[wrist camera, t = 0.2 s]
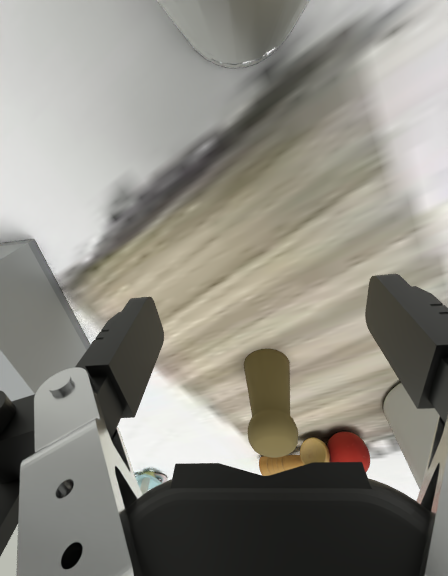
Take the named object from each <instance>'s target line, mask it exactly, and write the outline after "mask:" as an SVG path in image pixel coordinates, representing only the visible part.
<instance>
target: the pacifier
mask: <svg viewBox="0 0 448 576" xmlns="http://www.w3.org/2000/svg"><path fill="white" fill-rule="evenodd" d="M135 478H136V480H137V481H138V482H137V483H138V485H139V488H140V490H141V492H142V494H144V493H146V492H147V491H148V490H149V489H152V488H154V487H156V486H157V485H160V484H162V483H164V482H166V481H167V477H166V476H165V475H162V474H156V473H155V472H151V471H149V472H144V473H142V475H138V476H136V477H135ZM157 478H160V479H162V480H161V481H159V480H158V479H157Z"/></svg>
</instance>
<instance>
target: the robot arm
mask: <svg viewBox="0 0 448 576" xmlns="http://www.w3.org/2000/svg"><path fill="white" fill-rule="evenodd" d="M157 2H158V3H159V4H160V5H161V7H162V8H163V9H164V11H165V12H166V13H167V15H168V16H169V17H170V19H171V20H172V21H173V22H174V24H175V25H176V27H177V28H178V29H179V30H180V32H181V33H182V34H183V35H184V37H185V38H186V39H187V40H188V42H189V43H190V44H191V46H192V47H193V48H194V49H195V50H196V51H197V52H198V53H199V54H200V55H202V56H203V57H204V58H205V59H207V60H209V61H211V62H213V63H215V64H216V65H219V66H224V67H228V68H244V67H247V66H251V65H254V64H257V63H259V62H260V61H262V60H264V59H265V58H267V57H269V56H270V55H271V54H272V53H273V52H274V51H275V50H277V49H278V48H279V47H280V46H281V45H282V44H283V42H284V41H285V39H286V38H287V37H288V35H289V34H290V32H291V31H292V30H293V28H294V26H295V24H296V23H297V21H298V19H299V17H300V16H301V14H302V13H303V11H304V9H305V7H306V6H307V4H308V2H309V0H157ZM365 317H366V323H367V327H368V329H369V331H370V333H371V334H372V336H373V338H374V339H375V341H376V342H377V344H378V346H379V347H380V349H381V351H382V352H383V354H384V356H385V357H386V359H387V360H388V362H389V364H390V365H391V367H392V369H393V370H394V372H395V373H396V375H397V377H398V378H399V380H400V382H401V383H402V385H403V387H404V388H405V390H406V391H407V393H408V395H409V396H410V398H411V400H412V401H413V403H414V404H415V406H416V408H417V409H430V408H435V410H436V411H437V412H438V414H439V415H440V416H439V418H438V421H437V424H436V428H435V432H434V437H433V441H432V445H431V449H430V453H429V458H428V462H427V466H426V470H425V475H424V478H423V482H422V486H421V489H420V492H419V495H418V498H417V501H415V500H413V499H412V498H410V497H409V496H407V495H405V494H404V493H402V492H400V491H398V490H396V489H394V488H392V487H390V486H388V485H385V484H383V483H380V482H378V481H375V480H372V479H368V478H367V475H366V472H365V469H364V466H363V463H362V462H313V463H309V464H306V465H303V466H299V467H296V468H293V469H289V470H286V471H283V472H279V473H276V474H273V475H269V476H262V475H258V474H254V473H251V472H247V471H244V470H240V469H237V468H233V467H229V466H226V465H222V464H219V463H200V464H175V469H174V473H173V478H172V480H169V481H166V482H164V483H162V484H160V485H157V486H156V487H154V488H152V489H151V490H149V491H147V492H146V493H144V494H142V492H141V490H140V488H139V485H138V483H137V480H136V478H135V475H134V472H133V469H132V466H131V463H130V460H129V457H128V454H127V451H126V448H125V445H124V442H123V439H122V436H121V433H120V431H119V429H118V427H117V426H118V423H119V421H120V419H121V418H131V417H135V415H136V412H137V410H138V407H139V405H140V402H141V399H142V397H143V394H144V392H145V389H146V386H147V384H148V381H149V379H150V376H151V373H152V371H153V368H154V366H155V363H156V360H157V358H158V355H159V353H160V350H161V347H162V345H163V341H164V332H163V327H162V324H161V321H160V318H159V315H158V312H157V309H156V306H155V303H154V300H153V299H152V298H151V297H142V298H132V299H130V300H129V301H128V303H127V304H126V306H125V307H124V309H123V310H122V312H119V313H117V314H116V315H115V316H114V317H112V318H111V319H110V320H108V322H107V323H106V324H105V326H104V327H103V329H102V330H101V332H100V333H99V334H98V336H97V337H96V340H94V341H93V343H92V344H91V345H90V347H89V348H88V349H87V351H86V352H85V354H84V355H83V356H82V358H81V359H80V361H79V362H78V363H77V365H76V366H75V368H69V369H66V370H63V371H61V372H59V373H57V374H55V375H53V376H52V377H50V378H49V379H48V380H46V381H45V382H44V383H43V384H42V385H41V386H40V387H39V389H38V390H37V392H36V394H34V395H31V396H27V397H24V398H21V399H18V400H14V401H11V400H10V399H9V398H8V397H7V395H6V394H5V393H4V392H3V391H0V556H1V554H2V552H3V550H4V548H5V547H6V545H7V543H8V541H9V539H10V537H11V535H12V534H13V532H14V530H15V528H16V526H17V524H18V547H17V549H18V550H17V576H448V308H447V307H446V306H445V305H442V303H441V302H440V301H439V300H438V299H437V298H436V297H435V296H433V295H432V294H431V293H429V292H427V291H425V290H422V289H420V288H418V287H416V286H414V287H411V286H410V285H409V284H408V283H407V282H406V281H405V280H404V279H403V278H402V277H401V276H400V275H398V274H388V275H377V276H372V277H371V279H370V282H369V289H368V297H367V305H366V313H365Z"/></svg>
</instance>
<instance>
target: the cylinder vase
mask: <svg viewBox="0 0 448 576" xmlns="http://www.w3.org/2000/svg"><path fill="white" fill-rule="evenodd" d="M383 409H384V414H385V416H386V419H387V421H388V423H389V425H390V427H391V429H392V431H393V433H394V436H395V438H396V440H397V442H398V444H399V446H400V448H401V450H402V453H403V455H404V457H405V459H406V461H407V463H408V465H409V468H410V470H411V472H412V474H413V476H414V478H415V480H416V482H417V485H418V487H419V489H421V486H422V482H423V478H424V475H425V470H426V466H427V462H428V458H429V453H430V449H431V445H432V441H433V437H434V432H435V428H436V424H437V421H438V418H439V416H440V415H439V414H438V412H437V411H436V410H435V408H430V409H417V408H416V406H415V404H414V403H413V401H412V400H411V398H410V396H409V395H408V393H407V391H406V390H405V388H404V387H403V385H402V383H400V384H398V385H397V386H395V387H394V388H393V389H392V390H391V391H390V392H389V394H388V395H387V397H386V399H385V401H384V406H383Z"/></svg>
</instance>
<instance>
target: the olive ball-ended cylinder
mask: <svg viewBox="0 0 448 576" xmlns="http://www.w3.org/2000/svg"><path fill="white" fill-rule="evenodd" d="M244 369H245V375H246V381H247V387H248V393H249V399H250V405H251V411H252V418H251V420H250V422H249V426H248V439H249V443H250V445H251V446H252V448H253V449H254V451H256V452H257V453H258V454H260V455H263V456H266V457H271V458H278V457H283V456H286V455H288V454H290V453H291V452H293V451H294V449H295V448H296V446H297V443H298V430H297V427H296V424H295V422H294V420H293V419H292V418H291V417H290V372H289V360H288V358H287V357H286V356H285V355H284V354H283V353H281V352H279V351H277V350H273V349H261V350H257V351H254V352H253V353H251V354H249V355H248V357H247V358H246V359H245V362H244Z"/></svg>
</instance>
